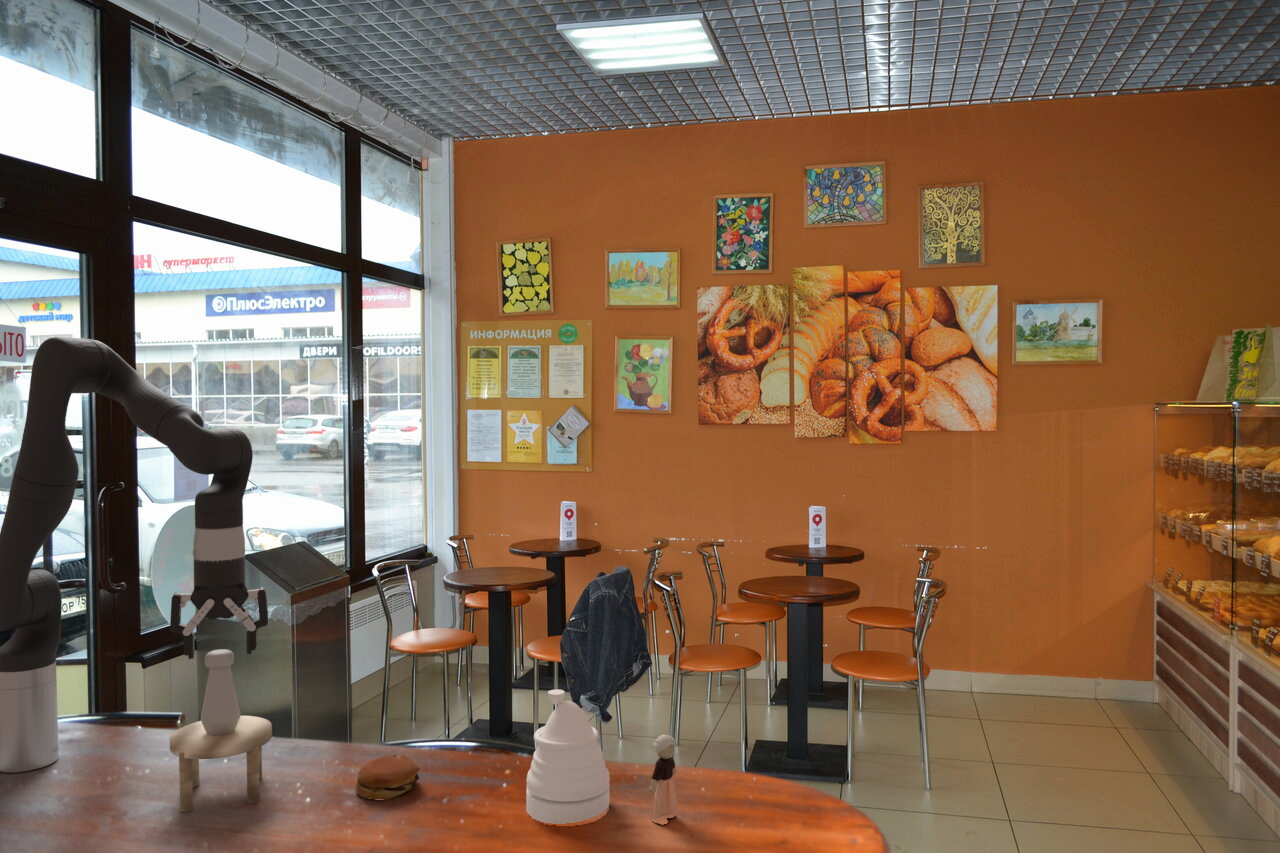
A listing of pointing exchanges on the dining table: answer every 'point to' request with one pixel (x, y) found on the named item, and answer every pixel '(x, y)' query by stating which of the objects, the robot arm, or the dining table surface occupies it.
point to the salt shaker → (220, 695)
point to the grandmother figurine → (664, 777)
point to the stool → (219, 753)
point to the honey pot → (567, 768)
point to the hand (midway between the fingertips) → (220, 655)
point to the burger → (387, 777)
